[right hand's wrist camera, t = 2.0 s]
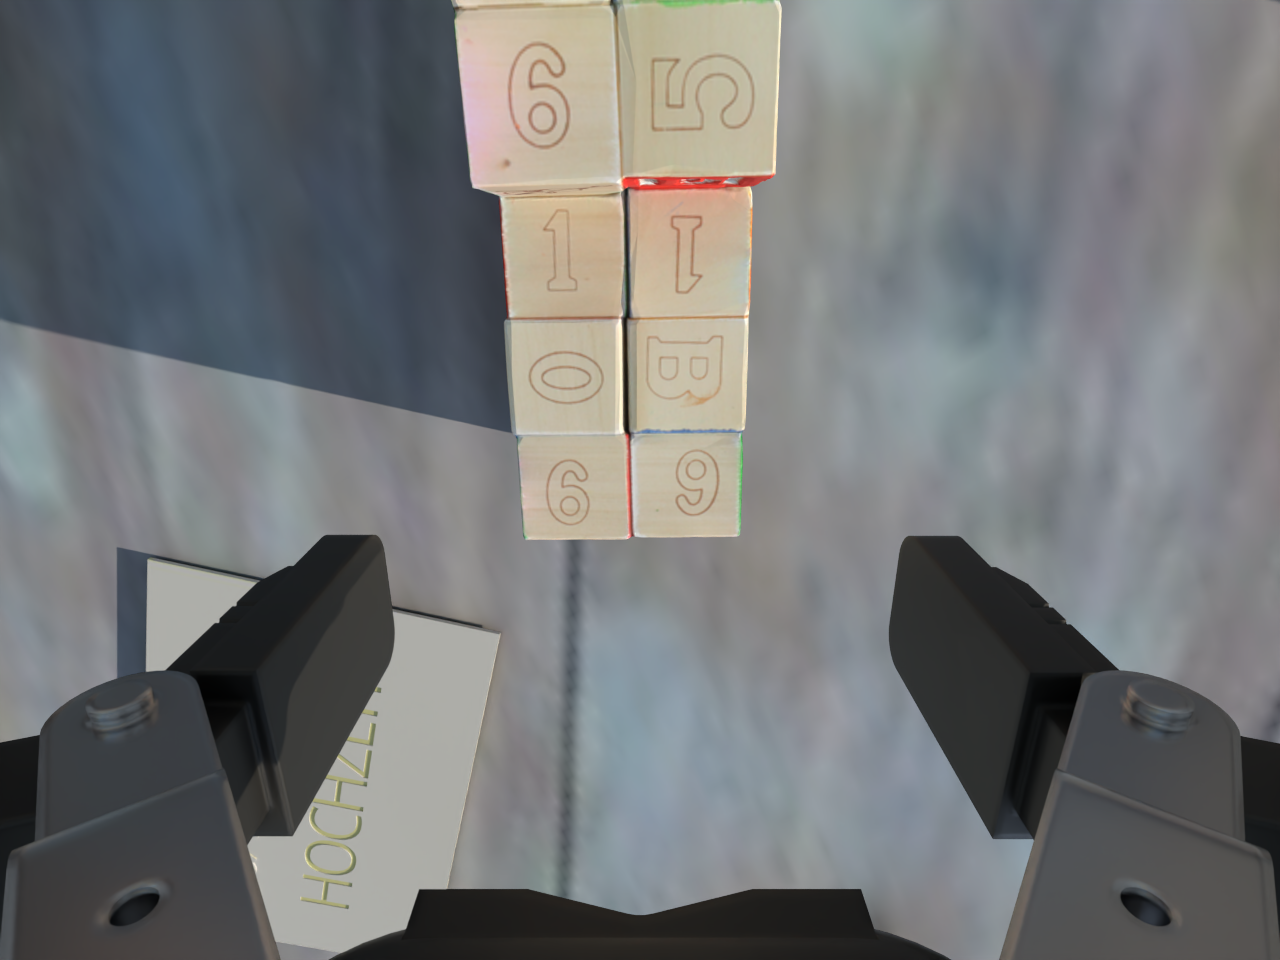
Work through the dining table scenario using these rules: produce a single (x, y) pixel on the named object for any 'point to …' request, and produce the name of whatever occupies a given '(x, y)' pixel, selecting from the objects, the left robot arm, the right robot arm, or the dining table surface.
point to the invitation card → (358, 770)
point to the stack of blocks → (624, 247)
